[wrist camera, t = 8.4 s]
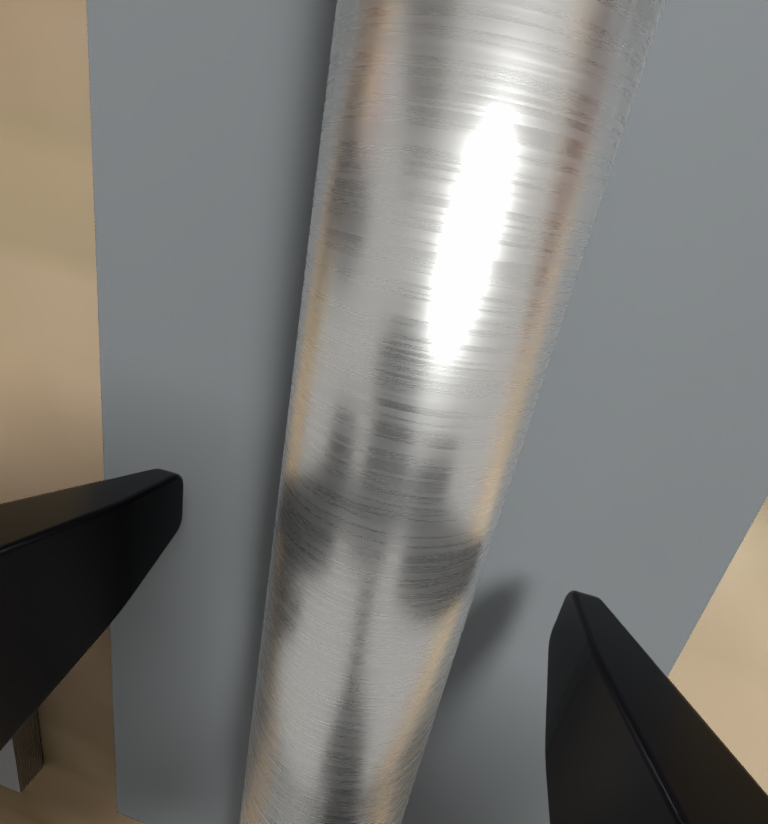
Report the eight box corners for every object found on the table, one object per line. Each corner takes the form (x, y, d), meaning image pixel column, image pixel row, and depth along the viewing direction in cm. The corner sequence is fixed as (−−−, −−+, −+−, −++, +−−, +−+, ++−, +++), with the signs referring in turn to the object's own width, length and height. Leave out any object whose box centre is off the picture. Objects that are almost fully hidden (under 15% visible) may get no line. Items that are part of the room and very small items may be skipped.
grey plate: (506, 938, 13) (506, 969, 13) (131, 790, 15) (116, 812, 14) (1304, -574, 4) (1425, -694, 4) (105, -554, 6) (62, -637, 5)
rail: (354, 892, 14) (343, 1069, 11) (242, 878, 14) (202, 1052, 11) (789, -616, 4) (1431, -1949, 2) (450, -713, 4) (540, -2337, 2)
